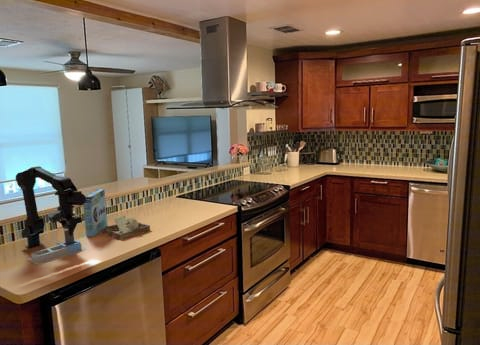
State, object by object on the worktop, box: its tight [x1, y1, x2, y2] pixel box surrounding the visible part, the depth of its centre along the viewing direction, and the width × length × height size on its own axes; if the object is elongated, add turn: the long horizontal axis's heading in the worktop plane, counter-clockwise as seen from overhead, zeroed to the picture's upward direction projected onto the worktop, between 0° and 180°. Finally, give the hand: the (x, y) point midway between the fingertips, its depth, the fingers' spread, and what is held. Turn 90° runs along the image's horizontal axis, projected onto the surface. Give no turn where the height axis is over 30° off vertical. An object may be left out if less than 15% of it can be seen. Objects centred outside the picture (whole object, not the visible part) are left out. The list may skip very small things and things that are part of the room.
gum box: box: [82, 188, 108, 238], centre depth 210 cm, size 20×5×23 cm, turn 178°
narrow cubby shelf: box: [27, 239, 88, 266], centre depth 175 cm, size 12×23×5 cm, turn 140°
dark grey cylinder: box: [63, 225, 75, 245], centre depth 179 cm, size 4×4×9 cm
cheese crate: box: [101, 221, 151, 241], centre depth 209 cm, size 19×19×3 cm
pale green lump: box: [114, 215, 139, 234], centre depth 207 cm, size 15×7×15 cm
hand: (69, 234), depth 179 cm, fingers closed on dark grey cylinder, 4 cm apart
